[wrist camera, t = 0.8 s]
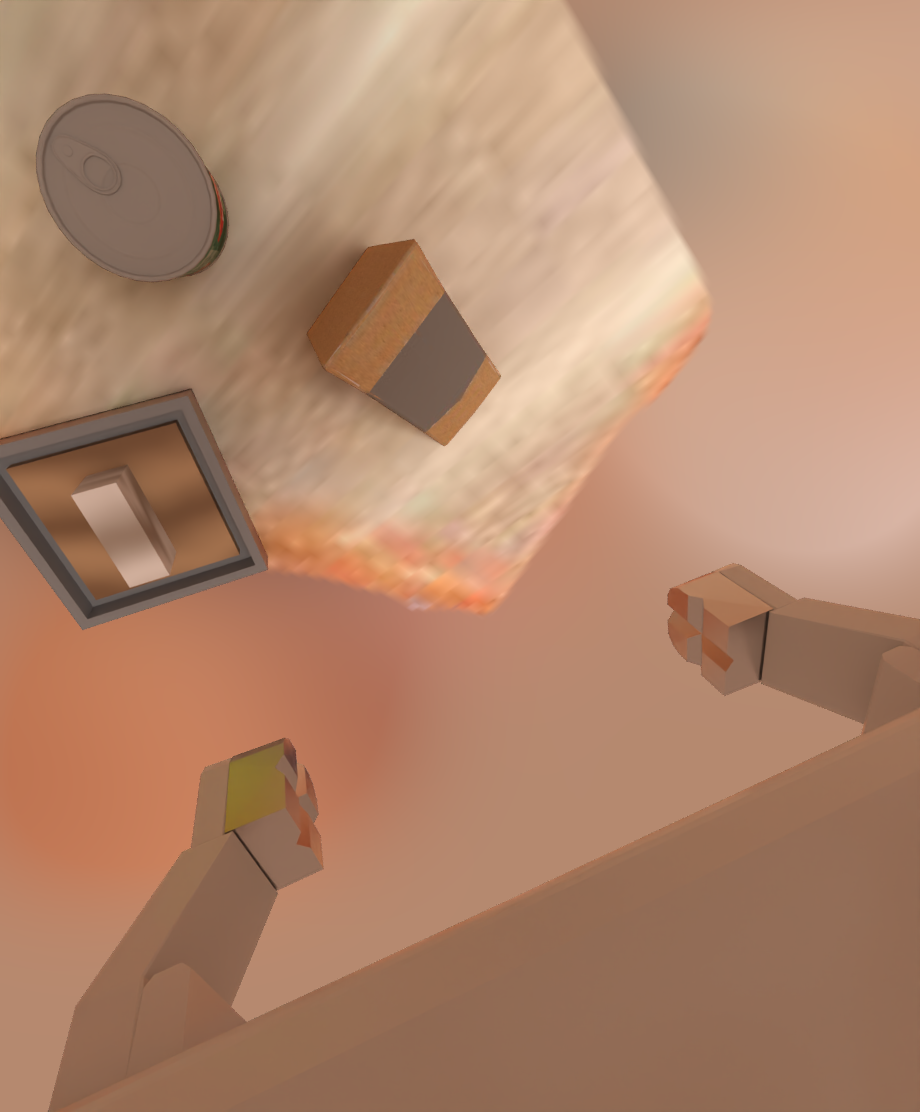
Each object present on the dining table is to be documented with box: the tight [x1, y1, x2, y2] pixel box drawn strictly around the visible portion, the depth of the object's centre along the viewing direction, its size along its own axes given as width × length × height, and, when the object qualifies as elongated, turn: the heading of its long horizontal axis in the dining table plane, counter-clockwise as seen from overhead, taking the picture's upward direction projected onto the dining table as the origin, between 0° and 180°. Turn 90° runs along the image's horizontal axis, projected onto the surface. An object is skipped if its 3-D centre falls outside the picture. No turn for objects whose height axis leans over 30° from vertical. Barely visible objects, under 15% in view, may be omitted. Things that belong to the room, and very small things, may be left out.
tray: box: [0, 389, 268, 630], centre depth 44 cm, size 16×16×2 cm
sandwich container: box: [307, 239, 501, 446], centre depth 40 cm, size 9×15×15 cm, turn 50°
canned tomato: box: [36, 94, 229, 282], centre depth 32 cm, size 8×8×11 cm
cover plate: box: [6, 420, 240, 600], centre depth 42 cm, size 12×12×5 cm
